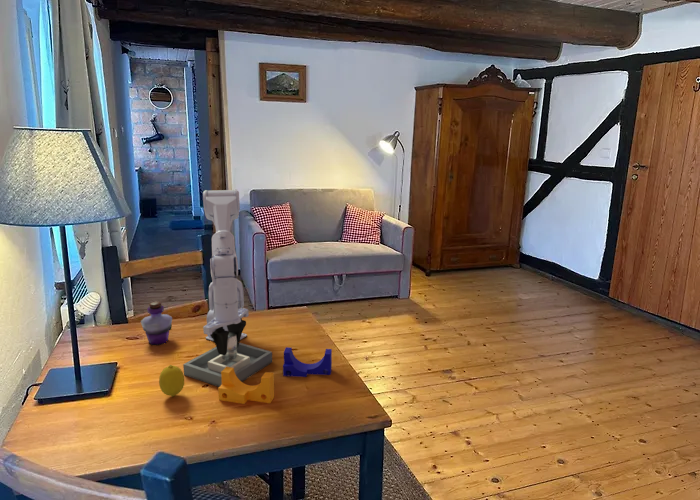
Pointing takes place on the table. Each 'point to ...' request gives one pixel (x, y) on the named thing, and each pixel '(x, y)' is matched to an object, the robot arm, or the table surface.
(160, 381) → the lemon
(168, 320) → the potion bottle
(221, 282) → the robot arm
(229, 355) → the metal peg
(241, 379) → the walled tray
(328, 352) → the blue cradle block
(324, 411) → the table surface
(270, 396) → the pipe clamp
